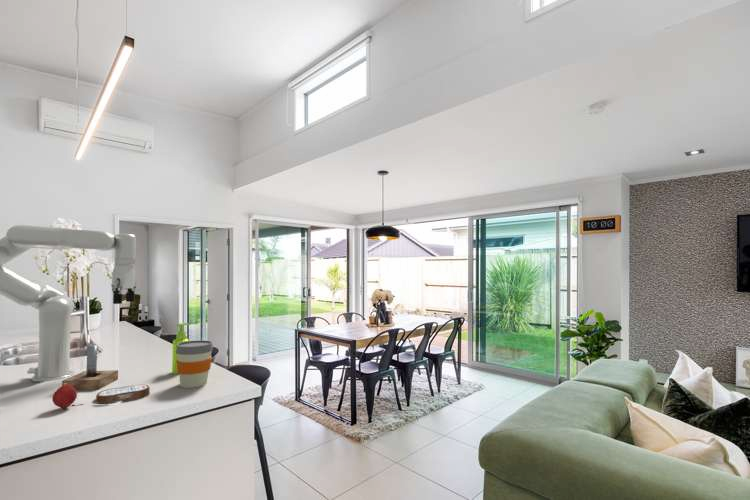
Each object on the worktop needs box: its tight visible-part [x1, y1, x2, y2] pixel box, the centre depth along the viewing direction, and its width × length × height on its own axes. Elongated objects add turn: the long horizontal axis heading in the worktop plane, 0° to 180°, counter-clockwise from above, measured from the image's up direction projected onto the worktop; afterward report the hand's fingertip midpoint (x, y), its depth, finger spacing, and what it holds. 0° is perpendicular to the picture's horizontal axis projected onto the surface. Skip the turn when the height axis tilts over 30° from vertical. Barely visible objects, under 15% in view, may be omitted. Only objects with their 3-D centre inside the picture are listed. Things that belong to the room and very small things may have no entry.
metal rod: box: [85, 344, 98, 377], centre depth 138 cm, size 3×3×14 cm
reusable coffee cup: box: [176, 339, 214, 389], centre depth 142 cm, size 13×12×15 cm
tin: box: [95, 384, 150, 405], centre depth 126 cm, size 15×3×8 cm
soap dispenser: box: [171, 322, 191, 375], centre depth 159 cm, size 6×7×20 cm
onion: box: [51, 383, 78, 410], centre depth 117 cm, size 6×6×8 cm
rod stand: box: [61, 369, 119, 391], centre depth 138 cm, size 12×12×4 cm
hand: (124, 302), depth 162 cm, fingers open, 9 cm apart
